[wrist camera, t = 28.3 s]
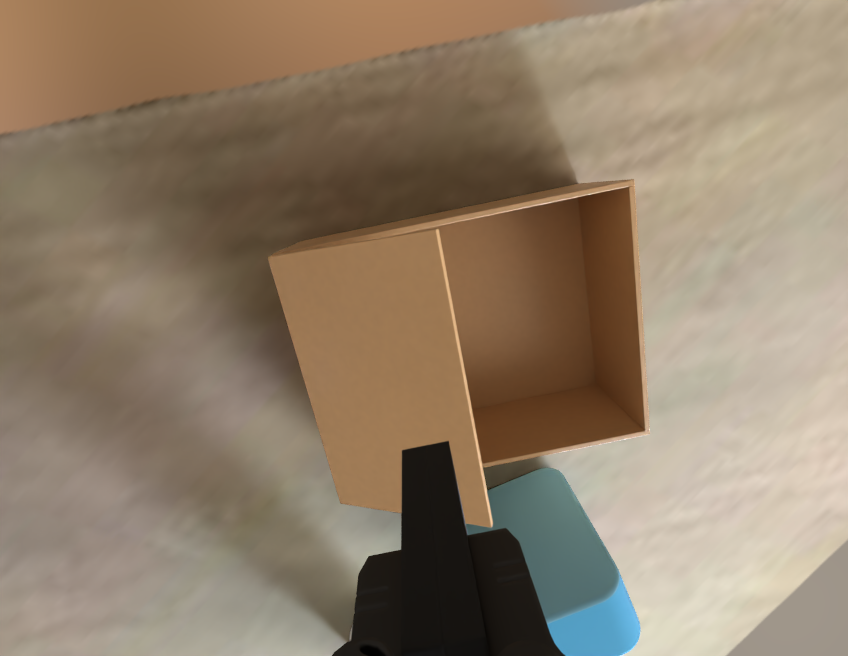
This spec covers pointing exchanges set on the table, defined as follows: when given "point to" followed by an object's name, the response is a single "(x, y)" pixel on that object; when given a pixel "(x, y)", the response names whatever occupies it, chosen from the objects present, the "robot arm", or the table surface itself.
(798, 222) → the table surface
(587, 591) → the light blue flat block
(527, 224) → the carton
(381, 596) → the robot arm
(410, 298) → the flap
